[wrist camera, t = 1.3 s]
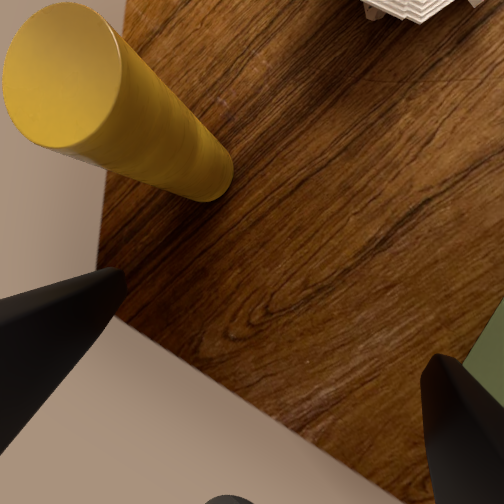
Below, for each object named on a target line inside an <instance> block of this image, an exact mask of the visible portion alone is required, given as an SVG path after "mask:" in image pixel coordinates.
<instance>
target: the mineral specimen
mask: <svg viewBox="0 0 504 504" xmlns="http://www.w3.org/2000/svg"><path fill="white" fill-rule="evenodd" d="M361 1H363V2H364V9H365V14H366V18H367V19H369V20H372V21H375V20H377V19H381V18H383V16H384V15H385V14H386V13H388V14H391V15H393V16H395V17H397V18H399V19H401V20H403V19H405V18H407V19H409V20H411V21H413V22H415V23H417V24H422V23H423V22H425V21H426V20H427V19H429V18H430V17H432V16H433V15H434V14H436V13H437V12H439V11H440V10H442V9H443V8H444V7H446V6H447V5H449V4H450V3H451V2H453V1H454V0H361ZM468 1H469V2H470V4H471V5H472V6H473V7H474V8H475V7H476V6H477V5H479V4H480V3H482V2H483V1H484V0H468ZM367 10H368V11H367Z"/></svg>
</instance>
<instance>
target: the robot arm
mask: <svg viewBox="0 0 504 504" xmlns="http://www.w3.org/2000/svg"><path fill="white" fill-rule="evenodd" d="M127 292H128V290H127V284H126V278H125V273H124V271H123V270H121V269H118V268H114V267H108V268H104V269H101V270H98V271H94V272H91V273H88V274H84V275H81V276H78V277H74V278H71V279H68V280H64V281H61V282H57V283H54V284H51V285H47V286H44V287H40V288H37V289H34V290H30V291H27V292H24V293H20V294H17V295H14V296H10V297H7V298H3V299H0V455H1V454H2V453H3V452H4V450H5V449H6V448H7V447H8V446H9V444H10V443H11V442H12V441H13V440H14V438H15V437H16V436H17V435H18V434H19V432H20V431H21V430H22V429H23V427H24V426H25V425H26V424H27V423H28V422H29V420H30V419H31V418H32V417H33V416H34V414H35V413H36V412H37V411H38V410H39V408H40V407H41V406H42V405H43V403H44V402H45V401H46V400H47V399H48V397H49V396H50V395H51V394H52V393H53V392H54V390H55V389H56V388H57V387H58V386H59V384H60V383H61V382H62V381H63V379H64V378H65V377H66V376H67V375H68V374H69V372H70V371H71V370H72V369H73V368H74V366H75V365H76V364H77V363H78V362H79V360H80V359H81V358H82V357H83V356H84V354H85V353H86V352H87V351H88V350H89V348H90V347H91V346H92V345H93V343H94V342H95V341H96V339H97V338H98V337H99V336H100V334H101V333H102V332H103V330H104V329H105V327H106V326H107V324H108V323H109V321H110V320H111V319H112V317H113V316H114V314H115V313H116V311H117V310H118V308H119V307H120V305H121V304H122V302H123V301H124V300H125V298H126V296H127ZM420 386H421V400H422V414H423V428H424V439H425V447H426V454H427V459H428V465H429V470H430V476H431V481H432V487H433V492H434V497H435V503H436V504H504V407H503V406H502V405H501V404H500V403H499V402H498V401H497V400H496V399H495V398H494V397H493V396H492V395H491V394H490V393H489V392H488V391H487V390H486V389H485V388H484V387H483V386H482V385H481V384H480V383H479V382H478V381H477V380H476V379H475V378H474V377H473V376H472V375H471V374H470V373H469V372H468V371H467V370H466V369H465V368H464V367H463V365H462V364H461V363H460V362H459V361H458V360H456V359H455V358H453V357H450V356H447V355H443V354H439V353H438V354H434V355H433V356H432V358H431V359H430V361H429V363H428V364H427V366H426V367H425V369H424V371H423V372H422V375H421V379H420Z"/></svg>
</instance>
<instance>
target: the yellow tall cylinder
mask: <svg viewBox="0 0 504 504" xmlns="http://www.w3.org/2000/svg"><path fill="white" fill-rule="evenodd" d="M2 89H3V96H4V101H5V106H6V108H7V111H8V114H9V116H10V118H11V120H12V122H13V123H14V125H15V126H16V128H17V129H18V130H19V131H20V132H21V134H23V135H24V136H25V137H26V138H27V139H28V140H30V141H31V142H33V143H34V144H36V145H39V146H41V147H44V148H46V149H50V150H52V151H55V152H58V153H61V154H63V155H66V156H69V157H72V158H75V159H78V160H81V161H83V162H86V163H89V164H92V165H95V166H98V167H101V168H103V169H106V170H109V171H112V172H115V173H117V174H120V175H123V176H126V177H129V178H132V179H134V180H137V181H140V182H143V183H146V184H149V185H151V186H154V187H157V188H160V189H163V190H166V191H168V192H171V193H174V194H177V195H180V196H183V197H185V198H188V199H191V200H194V201H197V202H209V201H213V200H215V199H217V198H219V197H220V196H221V195H223V194H224V193H225V192H226V190H227V189H228V187H229V186H230V184H231V181H232V178H233V162H232V159H231V156H230V154H229V153H228V151H227V150H226V149H225V148H224V147H223V146H222V145H221V143H220V142H219V141H218V140H217V139H216V138H215V137H214V136H213V135H212V134H211V133H210V132H209V131H208V130H207V128H206V127H205V126H204V125H203V124H202V123H201V122H200V121H199V120H198V119H197V118H196V117H195V116H194V114H193V113H192V112H191V111H190V110H189V109H188V108H187V107H186V106H185V105H184V104H183V103H182V102H181V101H180V99H179V98H178V97H177V96H176V95H175V94H174V93H173V92H172V91H171V90H170V89H169V88H168V87H167V86H166V84H165V83H164V82H163V81H162V80H161V79H160V78H159V77H158V76H157V75H156V74H155V73H154V72H153V71H152V69H151V68H150V67H149V66H148V65H147V64H146V63H145V62H144V61H143V60H142V59H141V58H140V57H139V56H138V54H137V53H136V52H135V51H134V50H133V49H132V48H131V47H130V46H129V45H128V44H127V43H126V42H125V40H124V39H123V38H122V37H121V36H120V35H119V34H118V33H117V32H116V31H115V30H114V29H113V28H112V27H111V26H110V25H109V23H108V22H107V21H106V20H105V19H104V18H103V17H102V16H101V15H100V14H98V13H97V12H96V11H94V10H93V9H91V8H89V7H87V6H85V5H81V4H78V3H72V2H61V3H56V4H52V5H49V6H47V7H45V8H43V9H41V10H39V11H38V12H36V13H35V14H33V15H32V16H31V17H30V18H29V19H28V20H27V21H26V22H25V23H24V24H23V25H22V26H21V27H20V29H19V30H18V32H17V33H16V35H15V36H14V38H13V40H12V42H11V44H10V47H9V49H8V52H7V55H6V58H5V62H4V67H3V78H2Z"/></svg>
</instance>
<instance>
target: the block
mask: <svg viewBox="0 0 504 504" xmlns="http://www.w3.org/2000/svg"><path fill="white" fill-rule="evenodd" d="M462 365H463V367H464V368H465V369H466V370H467V371H468V372H469V373H470V374H471V375H472V376H473V377H474V378H475V379H476V380H477V381H478V382H479V383H480V384H481V385H482V386H483V387H484V388H485V389H486V390H487V391H488V392H489V393H490V394H491V395H492V396H493V397H494V398H495V399H496V400H497V401H498V402H499V403H500V404H501V405H502V406H503V407H504V298H503V300H502V301H501V303H500V304H499V306H498V308H497V309H496V311H495V312H494V314H493V316H492V317H491V319H490V321H489V322H488V324H487V325H486V327H485V329H484V330H483V332H482V333H481V335H480V337H479V338H478V340H477V342H476V343H475V345H474V346H473V348H472V350H471V351H470V353H469V354H468V356H467V358H466V359H465V361H464V362H463V364H462Z"/></svg>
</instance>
